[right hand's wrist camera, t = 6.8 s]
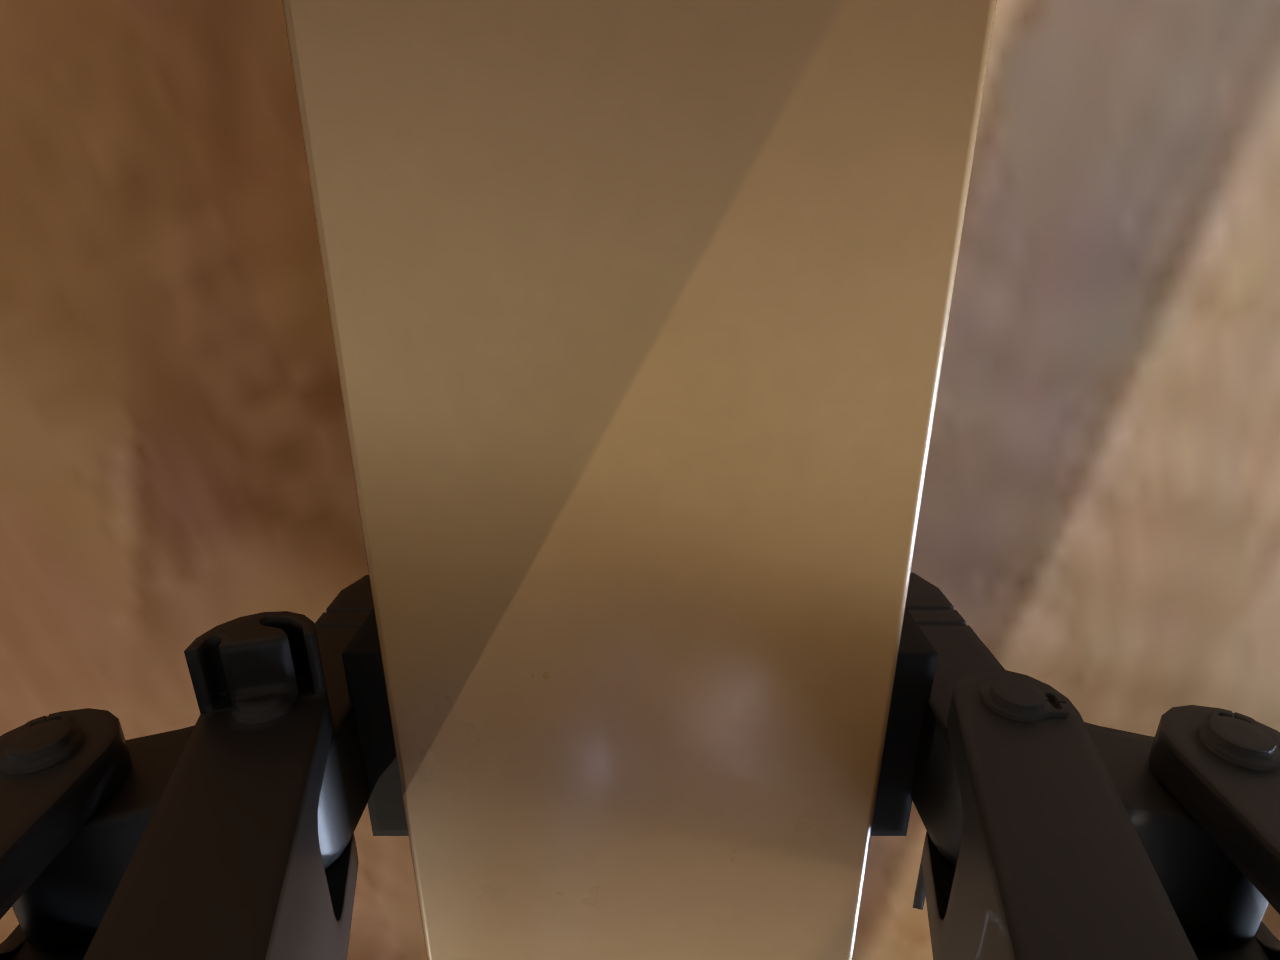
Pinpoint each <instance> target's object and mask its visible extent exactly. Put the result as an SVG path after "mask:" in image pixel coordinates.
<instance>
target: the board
mask: <svg viewBox="0 0 1280 960" xmlns="http://www.w3.org/2000/svg"><path fill="white" fill-rule="evenodd" d="M282 1H283V8H284V14H285V21H286V28H287V34H288V41H289V47H290V54H291V61H292V67H293V74H294V81H295V87H296V94H297V100H298V107H299V114H300V120H301V127H302V133H303V140H304V147H305V153H306V160H307V166H308V173H309V180H310V186H311V193H312V199H313V206H314V213H315V219H316V226H317V232H318V239H319V246H320V252H321V259H322V266H323V272H324V279H325V285H326V292H327V299H328V305H329V312H330V318H331V325H332V332H333V338H334V345H335V351H336V358H337V365H338V371H339V378H340V384H341V391H342V398H343V404H344V411H345V418H346V424H347V431H348V437H349V444H350V451H351V457H352V464H353V470H354V477H355V484H356V490H357V497H358V503H359V510H360V517H361V523H362V530H363V536H364V543H365V550H366V556H367V563H368V570H369V576H370V583H371V589H372V596H373V603H374V609H375V616H376V622H377V629H378V636H379V642H380V649H381V655H382V662H383V669H384V675H385V682H386V688H387V695H388V702H389V708H390V715H391V721H392V728H393V735H394V741H395V748H396V755H397V761H398V768H399V774H400V781H401V788H402V794H403V801H404V807H405V814H406V821H407V827H408V834H409V840H410V847H411V854H412V860H413V867H414V873H415V880H416V887H417V893H418V900H419V907H420V913H421V920H422V926H423V933H424V940H425V946H426V953H427V959H428V960H852V954H853V948H854V941H855V934H856V928H857V921H858V915H859V908H860V901H861V895H862V888H863V882H864V875H865V868H866V862H867V855H868V849H869V842H870V835H871V829H872V822H873V816H874V809H875V802H876V796H877V789H878V782H879V776H880V769H881V763H882V756H883V749H884V743H885V736H886V730H887V723H888V716H889V710H890V703H891V697H892V690H893V683H894V677H895V670H896V663H897V657H898V650H899V644H900V637H901V630H902V624H903V617H904V611H905V604H906V597H907V591H908V584H909V578H910V571H911V564H912V558H913V551H914V544H915V538H916V531H917V525H918V518H919V511H920V505H921V498H922V492H923V485H924V478H925V472H926V465H927V459H928V452H929V445H930V439H931V432H932V426H933V419H934V412H935V406H936V399H937V392H938V386H939V379H940V373H941V366H942V359H943V353H944V346H945V340H946V333H947V326H948V320H949V313H950V307H951V300H952V293H953V287H954V280H955V273H956V267H957V260H958V254H959V247H960V240H961V234H962V227H963V221H964V214H965V207H966V201H967V194H968V188H969V181H970V174H971V168H972V161H973V154H974V148H975V141H976V135H977V128H978V121H979V115H980V108H981V102H982V95H983V88H984V82H985V75H986V69H987V62H988V55H989V49H990V42H991V36H992V29H993V22H994V16H995V9H996V2H997V0H282Z"/></svg>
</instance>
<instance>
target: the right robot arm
mask: <svg viewBox="0 0 1280 960" xmlns="http://www.w3.org/2000/svg"><path fill="white" fill-rule="evenodd" d="M184 653H185V657H186V660H187V664H188V668H189V672H190V675H191V679H192V683H193V687H194V690H195V694H196V698H197V702H198V705H199V709H200V713H201V714H200V717H199V719H198V721H197V723H196V725H195V726H191V727H188V728H184V729H179V730H175V731H170V732H165V733H160V734H155V735H150V736H145V737H140V738H135V739H130V740H125V738H124V734H123V731H122V728H121V725H120V722H119V719H118V718H117V717H115V716H114V715H113V714H111V713H110V712H109V711H105V710H97V709H89V708H87V709H79V710H72V711H63V712H58V713H54V714H49V716H43V717H40V718H37V719H34V720H31V721H29V722H27V723H26V724H25V725H22V726H20V727H18V728H16V729H14V730H12V731H9V732H7V733H5V734H3V735H2V736H0V919H1V918H2V917H3V916H4V915H5V913H6V912H7V911H8V910H9V909H10V908H11V907H12V908H13V910H14V912H15V915H16V917H17V919H18V922H19V925H18V926H17V927H16V928H15V930H14V931H13V932H12V933H11V934H10V935H9V937H8V938H7V939H6V940H5V941H3V942H2V943H1V944H0V960H347V953H348V945H349V936H350V928H351V920H352V912H353V903H354V895H355V887H356V879H357V871H358V855H357V848H356V843H355V837H354V830H355V828H356V826H357V824H358V822H359V819H360V817H361V815H362V813H363V811H364V809H365V807H366V805H367V802H368V808H369V813H370V819H371V825H372V830H373V836H409V834H408V827H407V821H406V814H405V807H404V801H403V794H402V788H401V781H400V774H399V768H398V761H397V755H396V748H395V741H394V735H393V728H392V721H391V715H390V708H389V702H388V695H387V688H386V682H385V675H384V669H383V662H382V655H381V649H380V642H379V636H378V629H377V622H376V616H375V609H374V603H373V596H372V589H371V583H370V576H369V575H366V576H364V577H363V578H361V579H360V580H358V581H356V582H355V583H353V584H351V585H350V586H348V587H347V588H345V589H343V590H342V591H341V592H340V593H339V594H338V596H337V597H336V598H335V599H334V600H333V602H332V603H331V604H330V605H329V607H328V608H327V612H326V613H323V614H322V615H321V617H320V618H319V619H318V620H317V621H316V623H315V624H314V622H313V621H311V620H310V619H309V618H307V617H306V616H305V615H302V614H297V613H292V612H287V611H284V612H263V613H258V614H254V615H249V616H244V617H240V618H237V619H234V620H232V621H229V622H226V623H224V624H221V625H218V626H216V627H214V628H213V629H211V630H209V631H208V632H206V633H204V634H203V635H201V636H199V637H198V638H196V639H195V640H194V641H193V643H192V644H191V645H190V646H189V647H188V648H187V649H186V650H185V651H184ZM912 800H913V802H914V804H915V806H916V808H917V810H918V813H919V815H920V817H921V819H922V821H923V823H924V825H925V827H926V830H927V832H926V837H925V843H924V848H923V853H922V859H921V864H920V869H919V875H918V880H917V885H916V891H915V897H914V904H913V908H917V909H921V910H923V905H924V900H925V895H926V902H927V910H928V918H929V926H930V935H931V943H932V951H933V959H934V960H1280V941H1279V940H1278V939H1277V938H1276V937H1275V936H1274V935H1273V934H1272V933H1271V932H1270V931H1269V929H1268V928H1267V927H1266V926H1265V925H1264V924H1263V922H1262V921H1261V920H1262V918H1263V915H1264V913H1265V911H1266V908H1267V906H1268V904H1269V903H1270V904H1271V905H1272V906H1273V908H1274V909H1275V910H1276V911H1277V912H1278V913H1279V914H1280V733H1279V732H1278V731H1276V730H1274V729H1272V728H1270V727H1268V726H1265V725H1263V724H1261V723H1259V722H1257V721H1255V720H1254V719H1252V718H1250V717H1248V716H1245V715H1242V714H1239V713H1236V712H1235V713H1232V711H1229V710H1224V709H1220V708H1211V707H1203V706H1195V705H1189V706H1181V707H1173V708H1171V709H1170V710H1169V711H1167V712H1166V713H1165V714H1163V715H1162V717H1161V720H1160V723H1159V726H1158V729H1157V733H1156V736H1155V737H1151V736H1146V735H1141V734H1136V733H1131V732H1126V731H1121V730H1116V729H1111V728H1106V727H1101V726H1097V725H1093V724H1089V723H1085V722H1083V719H1082V717H1081V715H1080V713H1079V712H1078V711H1077V709H1076V708H1075V707H1074V706H1073V704H1072V703H1071V702H1070V700H1069V699H1068V698H1067V697H1065V696H1064V695H1062V694H1061V693H1059V692H1058V691H1057V690H1055V689H1054V688H1052V687H1051V686H1050V685H1047V684H1045V683H1043V682H1041V681H1038V680H1036V679H1034V678H1031V677H1029V676H1027V675H1023V674H1019V673H1015V672H1011V671H1007V670H1005V669H1004V668H1003V667H1002V666H1001V664H1000V663H999V662H998V661H997V659H996V658H995V657H994V656H993V655H992V653H991V652H990V651H989V650H988V648H987V647H986V646H985V645H984V643H983V642H982V641H981V640H980V639H979V637H978V636H977V635H976V634H975V632H974V631H973V630H972V629H971V628H970V626H966V621H965V620H964V619H963V618H962V617H961V615H960V614H959V613H958V612H957V610H953V605H952V604H951V603H950V602H949V601H948V599H947V598H946V597H945V596H944V594H943V593H942V592H941V591H940V590H939V588H937V587H936V586H934V585H932V584H931V583H929V582H927V581H926V580H924V579H922V578H921V577H919V576H918V575H916V574H914V573H910V578H909V584H908V591H907V597H906V604H905V611H904V617H903V624H902V630H901V637H900V644H899V650H898V657H897V663H896V670H895V677H894V683H893V690H892V697H891V703H890V710H889V716H888V723H887V730H886V736H885V743H884V749H883V756H882V763H881V769H880V776H879V782H878V789H877V796H876V802H875V809H874V816H873V822H872V829H871V835H870V836H906V833H907V828H908V822H909V816H910V811H911V805H912Z"/></svg>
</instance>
